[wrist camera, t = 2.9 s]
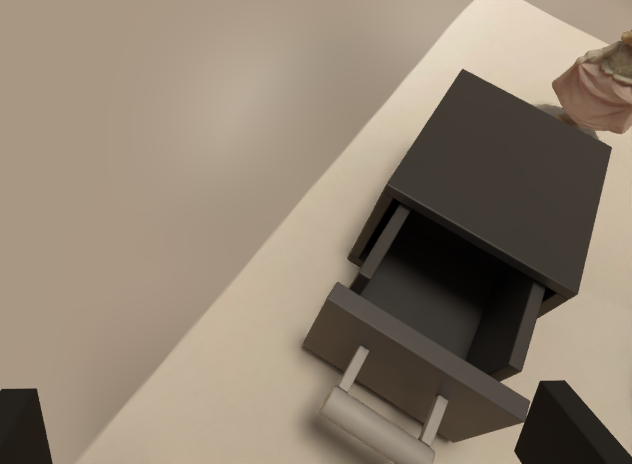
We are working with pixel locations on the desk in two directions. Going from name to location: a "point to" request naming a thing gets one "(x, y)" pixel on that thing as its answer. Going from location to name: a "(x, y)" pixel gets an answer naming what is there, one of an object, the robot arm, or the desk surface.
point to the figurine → (597, 90)
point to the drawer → (427, 338)
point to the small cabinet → (501, 184)
